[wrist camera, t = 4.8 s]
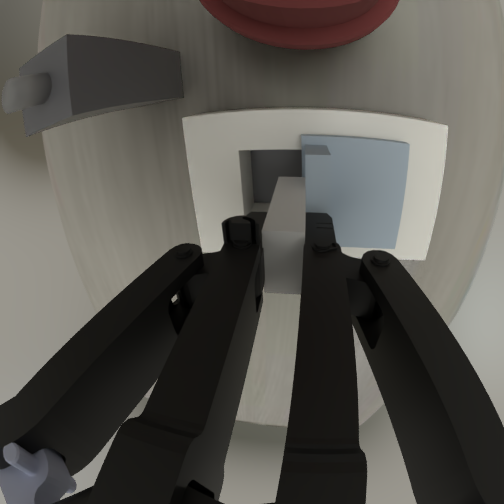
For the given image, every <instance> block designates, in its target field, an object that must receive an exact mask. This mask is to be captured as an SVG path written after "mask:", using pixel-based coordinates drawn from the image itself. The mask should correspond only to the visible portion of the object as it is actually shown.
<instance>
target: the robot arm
mask: <svg viewBox="0 0 504 504" xmlns="http://www.w3.org/2000/svg"><path fill="white" fill-rule="evenodd" d="M221 224H222V232H223V240H224V244H223V246H222V248H221V250H220V251H218V252H213V253H206V254H202V248H201V247H200V246H199V245H196V244H189V243H185V244H180V245H178V246H175V247H174V248H172V249H170V250H169V251H168V252H167V253H165V254H164V255H163V256H162V257H161V258H159V259H158V260H157V261H156V262H155V263H154V264H152V265H151V266H150V267H149V268H148V269H147V270H145V271H144V272H143V273H142V274H141V275H140V276H138V277H137V278H136V279H135V280H134V281H133V282H132V283H130V284H129V285H128V286H127V287H126V288H125V289H124V290H123V291H121V292H120V293H119V294H118V295H117V296H116V297H115V298H114V299H113V300H111V301H110V302H109V303H108V304H107V305H106V306H105V307H104V308H103V309H102V310H101V311H99V312H98V313H97V314H96V315H95V316H94V317H93V318H92V319H91V320H90V321H89V322H88V323H87V324H86V325H84V327H82V328H81V329H80V331H78V332H77V333H76V334H75V335H74V336H73V337H72V338H71V339H70V340H69V341H68V342H67V343H66V344H65V345H64V346H63V347H62V348H61V349H60V350H59V351H58V352H57V353H56V354H55V355H54V356H53V357H52V358H51V359H50V360H49V361H48V362H47V363H46V364H45V365H44V366H43V367H42V368H41V369H40V370H39V371H38V372H37V373H36V375H35V376H34V377H33V378H32V379H31V380H30V381H29V382H28V383H27V384H26V385H25V386H24V387H23V388H22V390H21V391H20V392H19V393H18V394H17V395H16V396H15V397H13V398H12V399H10V400H8V401H7V402H5V403H3V404H2V405H0V486H1V489H2V492H3V494H4V497H5V500H6V503H7V504H224V503H221V502H219V501H218V500H219V496H220V493H221V489H222V484H223V479H224V463H225V458H226V454H227V451H228V447H229V443H230V439H231V435H232V430H233V427H234V423H235V419H236V415H237V411H238V407H239V403H240V399H241V394H242V390H243V386H244V382H245V378H246V373H247V369H248V365H249V361H250V356H251V352H252V348H253V343H254V339H255V335H256V330H257V326H258V321H259V317H260V312H261V308H262V303H263V292H262V291H263V287H264V292H267V293H284V294H301V302H300V316H299V329H298V340H297V351H296V362H295V371H294V381H293V390H292V398H291V406H290V414H289V422H288V429H287V436H286V443H285V449H284V456H283V463H282V468H281V474H280V479H279V485H278V491H277V496H276V502H275V503H267V504H365V503H366V486H367V461H366V457H365V453H364V452H363V451H362V450H361V449H360V446H359V418H358V390H357V373H356V359H355V347H354V337H353V327H352V324H353V326H354V328H355V331H356V333H357V335H358V338H359V340H360V342H361V345H362V347H363V350H364V352H365V354H366V357H367V359H368V362H369V364H370V367H371V369H372V372H373V374H374V377H375V379H376V382H377V385H378V387H379V390H380V392H381V395H382V398H383V400H384V403H385V406H386V408H387V411H388V414H389V417H390V419H391V423H392V425H393V428H394V431H395V434H396V437H397V440H398V443H399V446H400V449H401V452H402V456H403V459H404V462H405V465H406V469H407V472H408V476H409V479H410V482H411V486H412V490H413V493H414V496H415V499H416V502H417V504H504V427H503V425H502V422H501V420H500V418H499V416H498V414H497V412H496V410H495V407H494V406H493V403H492V401H491V399H490V397H489V395H488V394H487V392H486V390H485V388H484V386H483V384H482V382H481V380H480V379H479V377H478V375H477V373H476V372H475V370H474V368H473V366H472V365H471V363H470V361H469V360H468V358H467V356H466V355H465V353H464V351H463V350H462V348H461V346H460V345H459V343H458V342H457V340H456V339H455V337H454V336H453V334H452V332H451V331H450V330H449V328H448V326H447V325H446V323H445V322H444V321H443V319H442V318H441V316H440V315H439V313H438V312H437V310H436V309H435V308H434V306H433V305H432V304H431V302H430V301H429V299H428V298H427V297H426V295H425V294H424V293H423V291H422V290H421V289H420V287H419V286H418V285H417V283H416V282H415V281H414V279H413V278H412V277H411V276H410V274H409V273H408V272H407V271H406V269H405V268H404V267H403V266H402V264H401V263H400V262H399V261H398V259H397V258H396V257H394V256H393V255H392V254H390V253H388V252H386V251H382V250H371V251H367V252H365V253H364V254H363V256H362V259H358V258H354V257H351V256H348V255H346V254H344V253H342V251H341V247H340V245H339V244H338V243H337V242H336V237H335V231H334V226H333V220H332V217H331V216H329V215H328V214H327V213H315V212H306V189H305V177H279V178H278V181H277V184H276V187H275V190H274V193H273V197H272V200H271V203H270V206H269V209H268V212H250V213H249V214H247V215H246V216H245V215H242V216H234V217H230V218H228V219H226V220H224V221H223V222H222V223H221ZM175 294H176V295H177V298H178V299H177V300H176V301H175V302H173V303H172V300H171V299H172V298H173V296H174V295H175ZM157 379H158V380H157ZM156 380H157V382H156ZM155 382H156V384H155V386H154V389H153V391H152V393H151V395H150V397H149V400H148V402H147V404H146V407H145V409H144V411H143V412H142V414H141V415H140V416H139V417H135V418H130V419H128V420H127V421H125V420H126V418H127V417H128V416H129V414H130V413H131V412H132V410H133V409H134V408H135V407H136V405H137V404H138V403H139V402H140V401H141V399H142V398H143V397H144V396H145V394H146V393H147V392H148V390H149V389H150V388H151V387H152V385H153V384H154V383H155ZM124 421H125V422H124ZM123 422H124V423H123ZM122 423H123V424H122ZM120 426H121V427H120ZM119 427H120V428H119ZM118 428H119V430H118ZM117 430H118V432H117V434H116V436H115V438H114V440H113V442H112V445H111V447H110V449H109V452H108V454H107V456H106V458H105V460H104V463H103V465H102V467H101V470H100V472H99V474H98V477H97V479H96V482H95V484H94V486H92V487H90V488H87V489H85V490H83V491H81V492H79V493H77V494H74V495H72V496H69V497H67V498H65V499H62V500H60V498H61V497H62V496H63V495H64V494H65V493H73V492H74V491H75V490H76V482H75V480H74V479H73V478H72V477H71V476H73V475H74V474H76V473H78V472H79V471H80V470H82V469H83V468H84V467H85V466H87V465H88V464H89V463H90V462H91V461H92V460H93V459H94V458H95V457H96V455H98V453H99V452H100V451H101V450H102V449H103V447H104V446H105V445H106V443H107V442H108V441H109V440H110V439H111V437H112V436H113V435H114V433H115V432H116V431H117Z"/></svg>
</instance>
